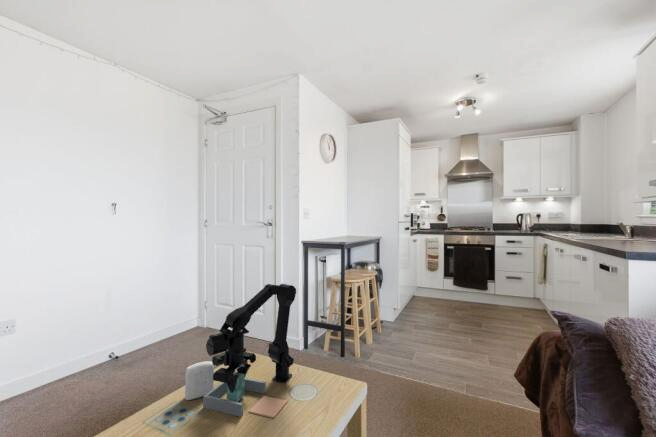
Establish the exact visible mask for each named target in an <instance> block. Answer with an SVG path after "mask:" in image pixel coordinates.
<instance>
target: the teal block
mask: <svg viewBox="0 0 656 437" xmlns="http://www.w3.org/2000/svg"><path fill="white" fill-rule="evenodd" d="M235 375H238V377H237V380H236V384H235V388H234V392H233V393H231V392H230V390H229V388H228V385H227V391H226V400H230V401H234V402H239V401H240V400H241V399H242V398H244V396H245V389H244V374H242V373H237V371H235Z"/></svg>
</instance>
